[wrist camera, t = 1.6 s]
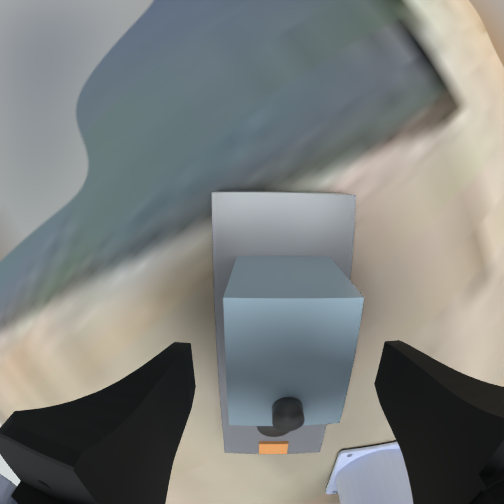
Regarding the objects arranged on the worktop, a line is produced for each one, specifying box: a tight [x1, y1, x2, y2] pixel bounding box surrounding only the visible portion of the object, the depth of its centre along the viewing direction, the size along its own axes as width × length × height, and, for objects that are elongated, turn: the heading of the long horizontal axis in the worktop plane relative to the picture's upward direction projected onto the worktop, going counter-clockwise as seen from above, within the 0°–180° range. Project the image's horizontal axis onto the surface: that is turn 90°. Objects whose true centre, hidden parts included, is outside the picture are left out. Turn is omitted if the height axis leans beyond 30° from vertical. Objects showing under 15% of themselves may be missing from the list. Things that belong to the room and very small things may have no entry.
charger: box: [223, 256, 364, 432], centre depth 13 cm, size 5×6×8 cm
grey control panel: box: [212, 191, 356, 454], centre depth 17 cm, size 7×18×3 cm, turn 0°
